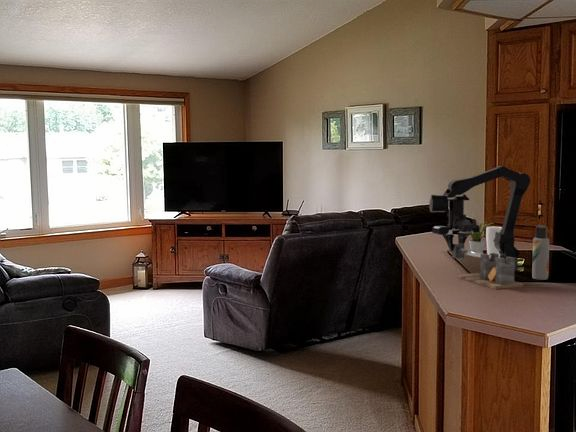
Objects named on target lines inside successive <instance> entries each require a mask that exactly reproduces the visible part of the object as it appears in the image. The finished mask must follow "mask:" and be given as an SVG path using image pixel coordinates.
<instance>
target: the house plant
mask: <svg viewBox="0 0 576 432" xmlns="http://www.w3.org/2000/svg"><path fill="white" fill-rule="evenodd" d="M475 220H476V224H477V225H479V227H480V232H473V231H472V232H470V233H472V234H471V235H469V236H468V237H471V239H470V240H468V242H469V248H470V249H469V250H471V251H476V252H480V253H484V248H485V243H486V240H484V239H483V238H484V237H486V233H483V232H484V231H486V227H490V225H492V224H493V222H491V223H488V224H487V222H485V221H481V222H480V224H479V223H478V220H477V219H475ZM485 223H486V224H485ZM483 224H484V225H483Z"/></svg>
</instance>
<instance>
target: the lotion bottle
mask: <svg viewBox="0 0 576 432" xmlns="http://www.w3.org/2000/svg"><path fill="white" fill-rule="evenodd" d="M549 264H550V239H549V238H548V226H546V225H542V224H539V225H536V226H535V237H534V238H532V268H531V276H532V277H531V278H532V279H534V280H539V281H540V280H541V281H543V280H548V279H549Z"/></svg>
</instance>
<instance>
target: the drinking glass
mask: <svg viewBox="0 0 576 432" xmlns="http://www.w3.org/2000/svg"><path fill="white" fill-rule="evenodd" d="M485 227H486V226H485ZM502 227H503V226H494V225H493V226H487V227H486V229H485V235H486V236H485V239H486V240H485V243H486V254H488V255H490V253H496V254H499V257H500V255H502V254H500V253H499V250H497V249H496V247H495V245H494V241H493V240H494V239H495V233H496V232H498V233H499V232H500V231H501V229H502ZM499 257H498V258H499Z"/></svg>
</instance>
